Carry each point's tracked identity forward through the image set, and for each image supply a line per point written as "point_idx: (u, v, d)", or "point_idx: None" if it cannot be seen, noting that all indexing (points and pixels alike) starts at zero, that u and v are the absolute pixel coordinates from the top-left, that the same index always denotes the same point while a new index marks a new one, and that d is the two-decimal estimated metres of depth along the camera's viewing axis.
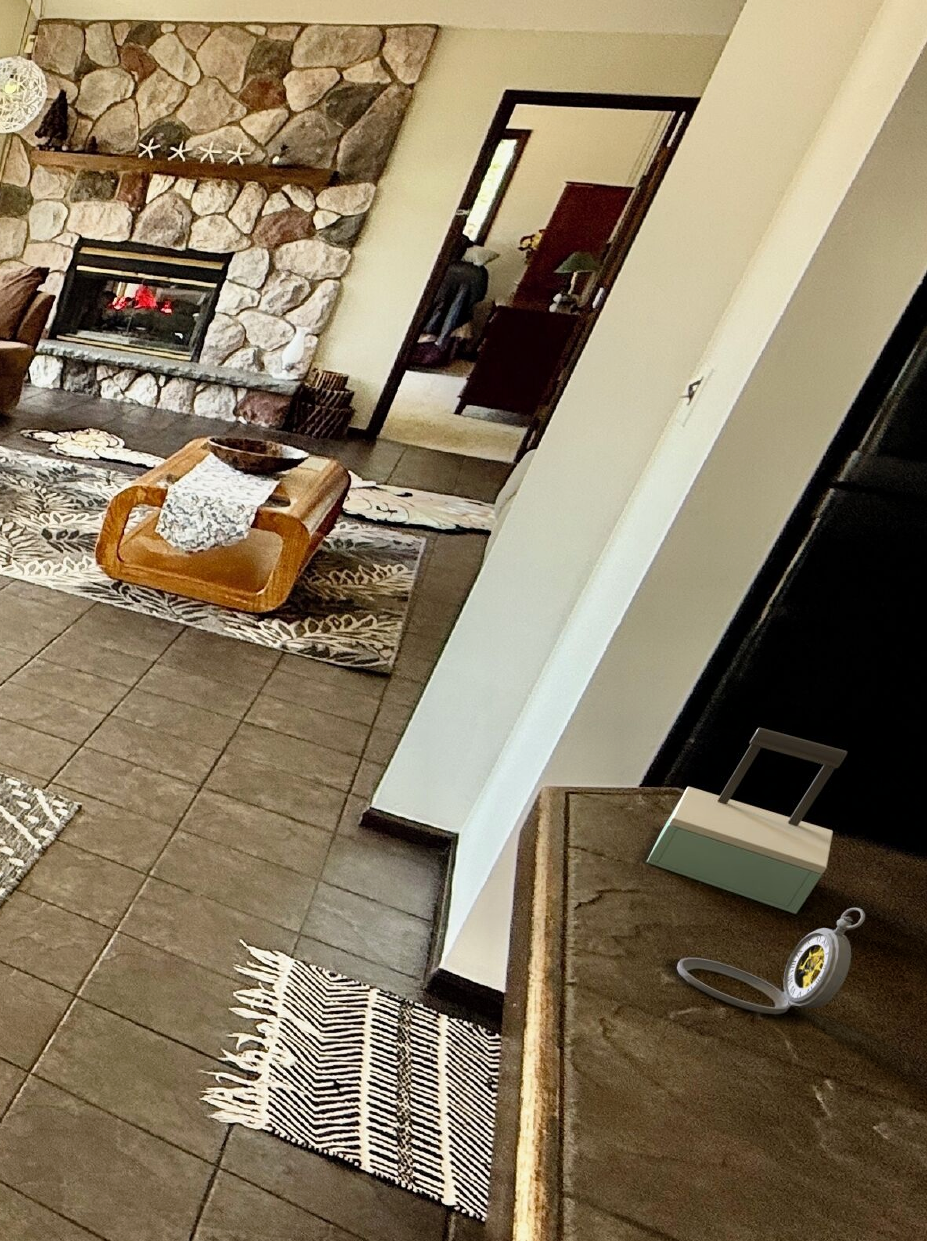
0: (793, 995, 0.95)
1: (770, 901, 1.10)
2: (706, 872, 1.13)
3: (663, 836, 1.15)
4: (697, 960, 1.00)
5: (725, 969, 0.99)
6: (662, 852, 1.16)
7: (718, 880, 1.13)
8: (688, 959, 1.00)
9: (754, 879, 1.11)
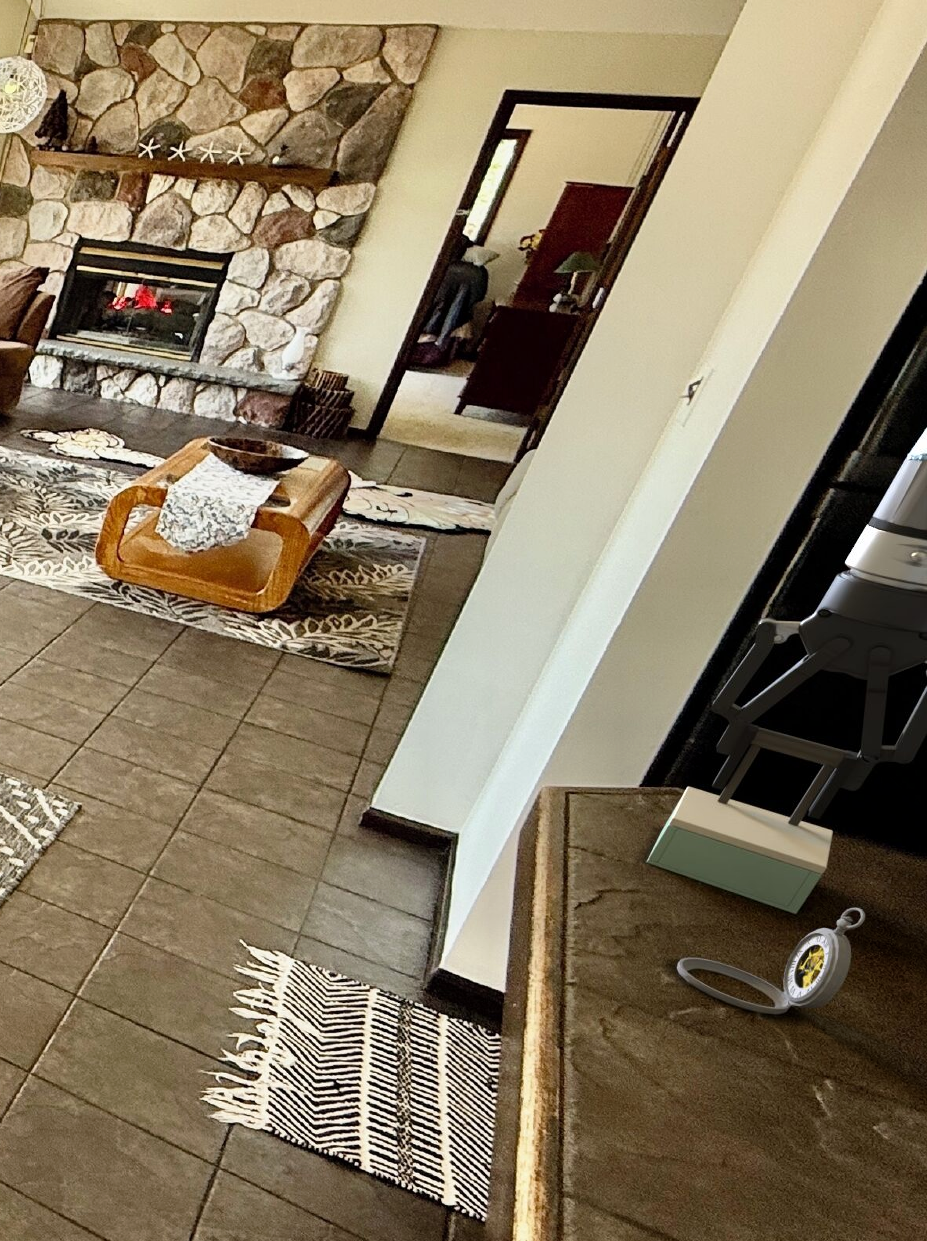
0: (793, 995, 0.95)
1: (770, 901, 1.10)
2: (706, 872, 1.13)
3: (663, 836, 1.15)
4: (697, 960, 1.00)
5: (725, 969, 0.99)
6: (662, 852, 1.16)
7: (718, 880, 1.13)
8: (688, 959, 1.00)
9: (754, 879, 1.11)
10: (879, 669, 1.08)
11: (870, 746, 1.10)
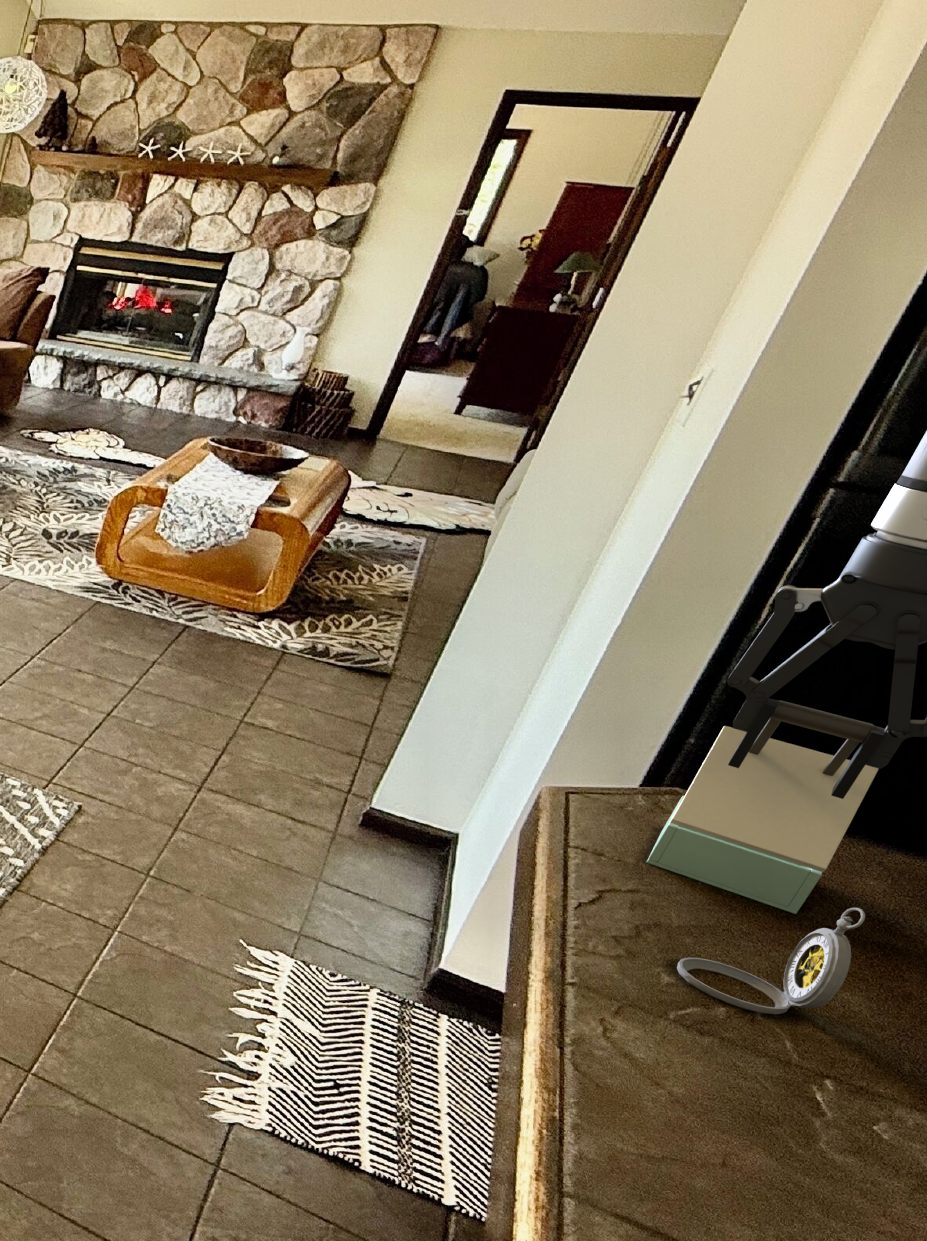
0: (793, 995, 0.95)
1: (770, 901, 1.10)
2: (706, 872, 1.13)
3: (663, 836, 1.15)
4: (697, 960, 1.00)
5: (725, 969, 0.99)
6: (662, 852, 1.16)
7: (718, 880, 1.13)
8: (688, 959, 1.00)
9: (754, 879, 1.11)
10: (908, 638, 1.01)
11: (898, 720, 1.03)
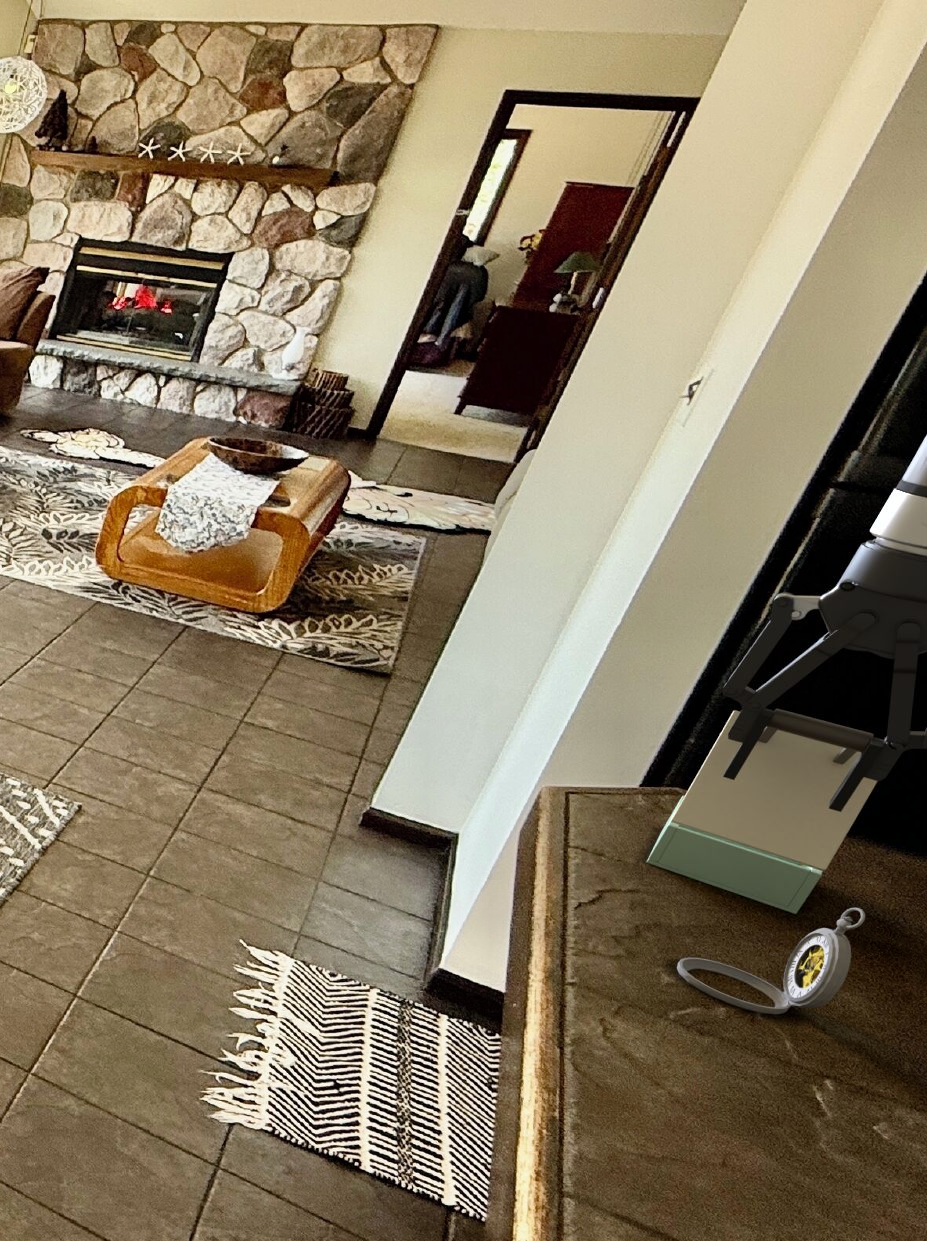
0: (793, 995, 0.95)
1: (770, 901, 1.10)
2: (706, 872, 1.13)
3: (663, 836, 1.15)
4: (697, 960, 1.00)
5: (725, 969, 0.99)
6: (662, 852, 1.16)
7: (718, 880, 1.13)
8: (688, 959, 1.00)
9: (754, 879, 1.11)
10: (907, 647, 0.98)
11: (897, 732, 1.00)
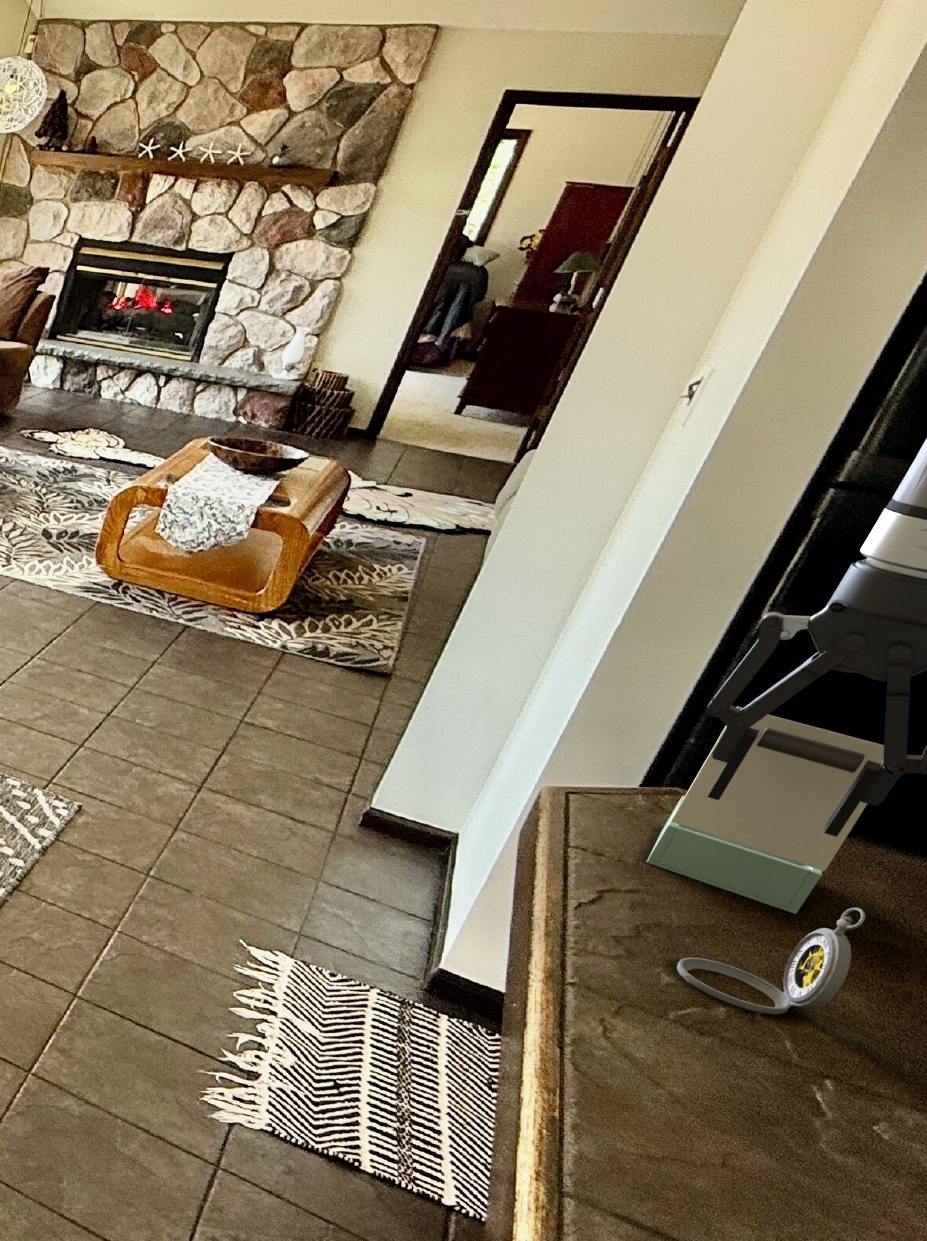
0: (793, 995, 0.95)
1: (770, 901, 1.10)
2: (706, 872, 1.13)
3: (663, 836, 1.15)
4: (697, 960, 1.00)
5: (725, 969, 0.99)
6: (662, 852, 1.16)
7: (718, 880, 1.13)
8: (688, 959, 1.00)
9: (754, 879, 1.11)
10: (898, 669, 0.97)
11: (894, 756, 0.98)
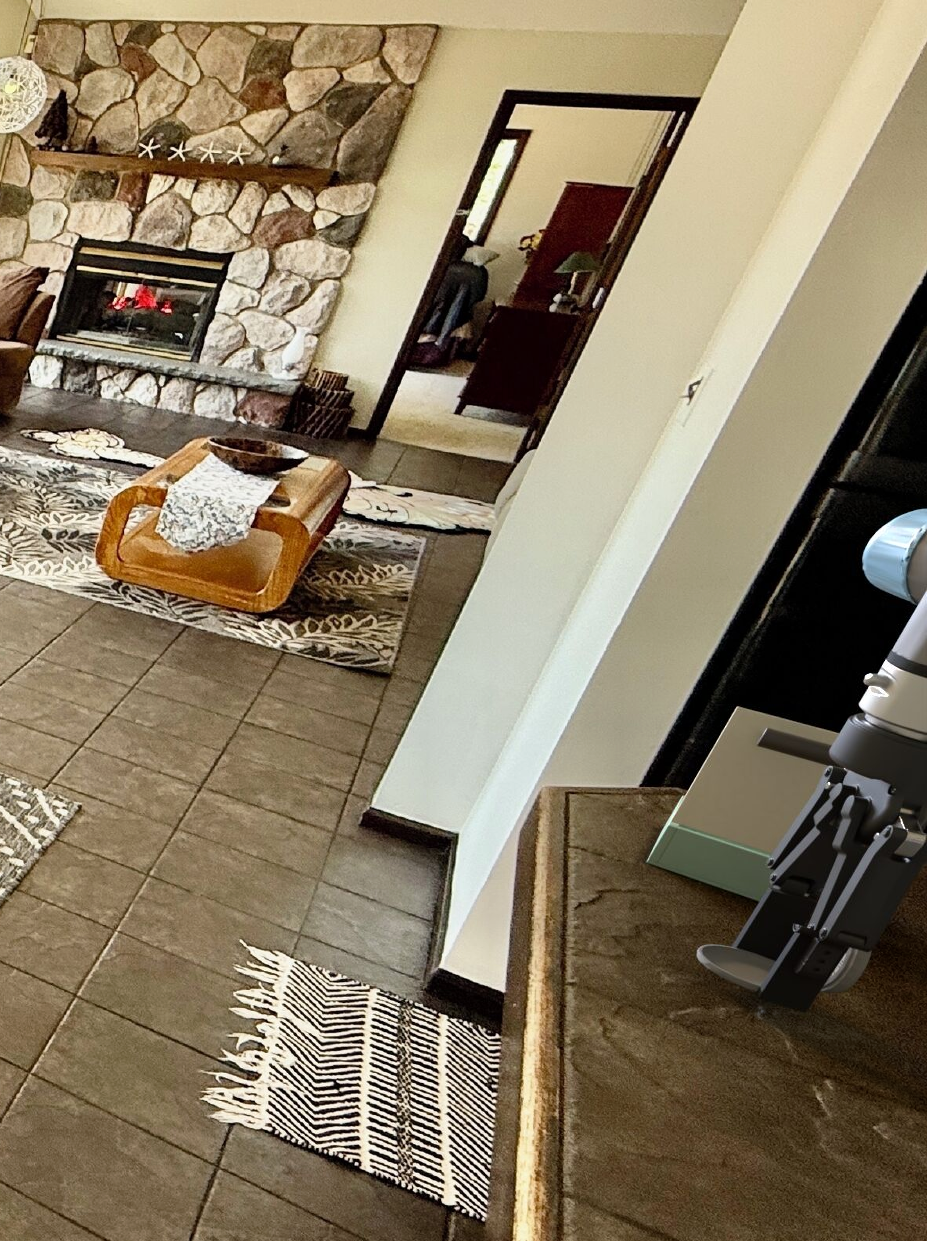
0: None
1: None
2: (706, 872, 1.13)
3: (663, 836, 1.15)
4: (716, 947, 0.99)
5: (745, 955, 0.98)
6: (662, 852, 1.16)
7: (718, 880, 1.13)
8: (707, 946, 0.99)
9: (754, 879, 1.11)
10: (845, 823, 0.89)
11: (815, 917, 0.90)
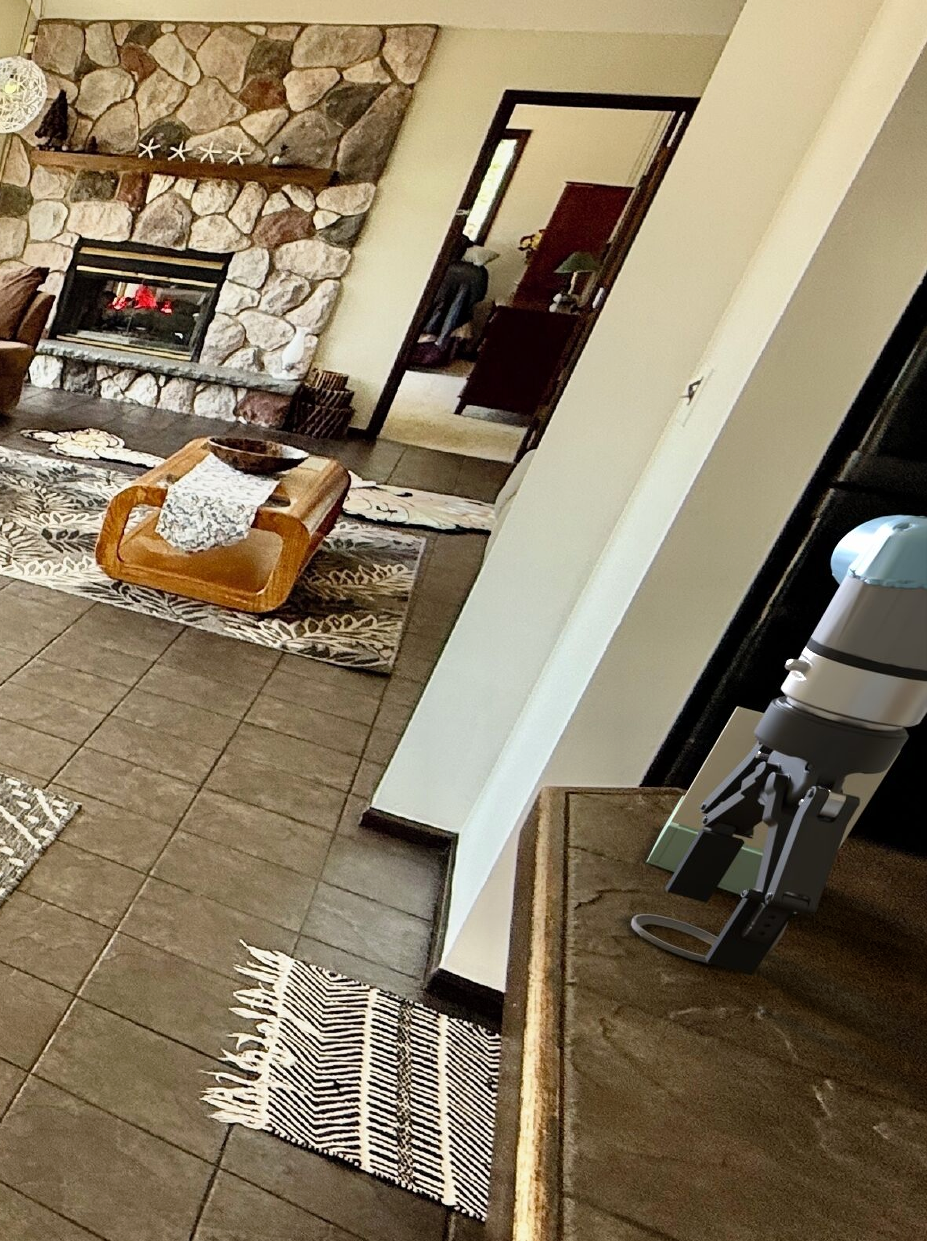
0: None
1: None
2: None
3: (663, 836, 1.15)
4: (650, 916, 1.06)
5: (676, 924, 1.05)
6: (662, 852, 1.16)
7: None
8: (641, 915, 1.06)
9: (754, 879, 1.11)
10: (766, 798, 0.96)
11: (760, 883, 0.94)
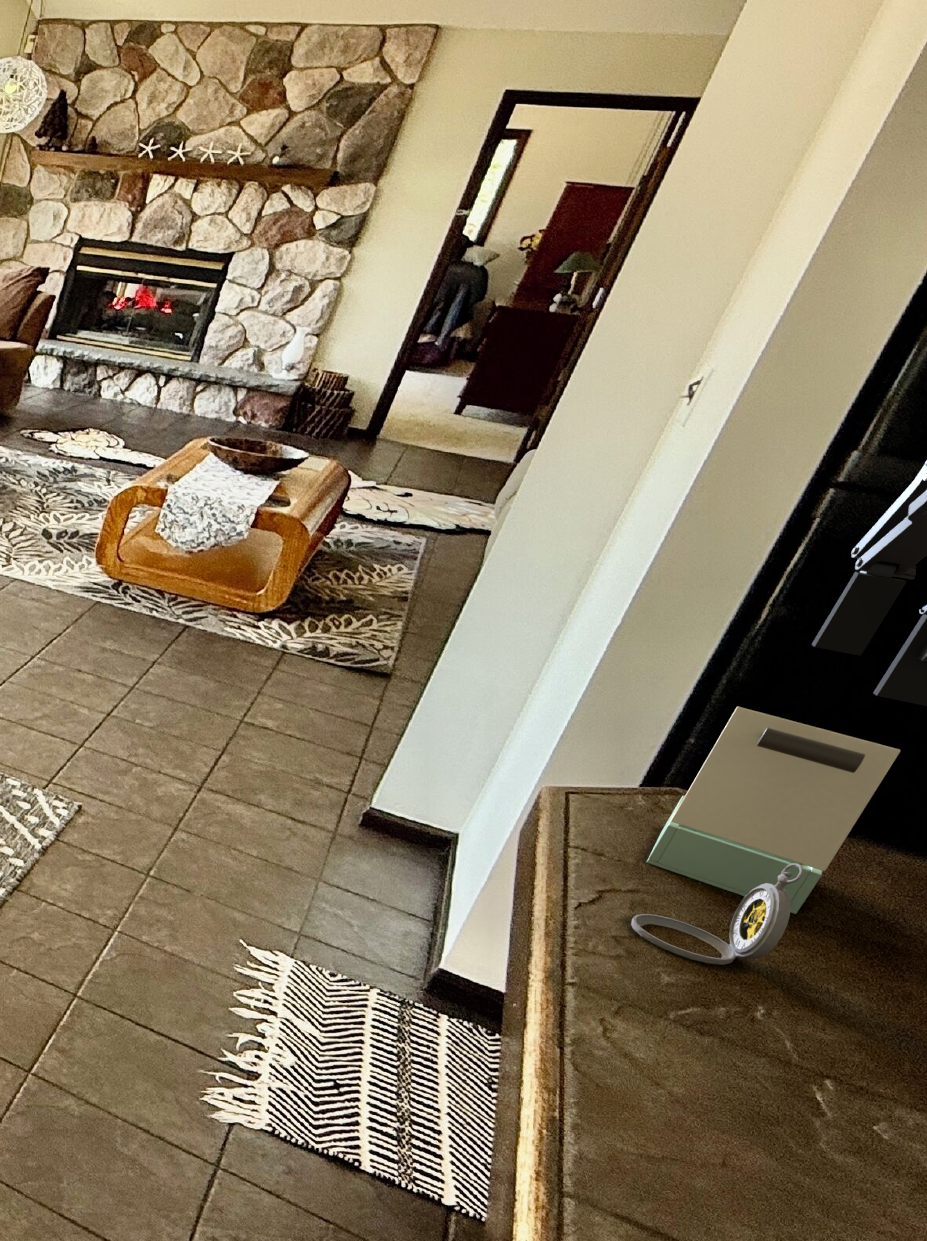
0: (738, 947, 1.01)
1: None
2: (706, 872, 1.13)
3: (663, 836, 1.15)
4: (650, 916, 1.06)
5: (676, 924, 1.05)
6: (662, 852, 1.16)
7: (718, 880, 1.13)
8: (641, 915, 1.06)
9: (754, 879, 1.11)
10: None
11: None
